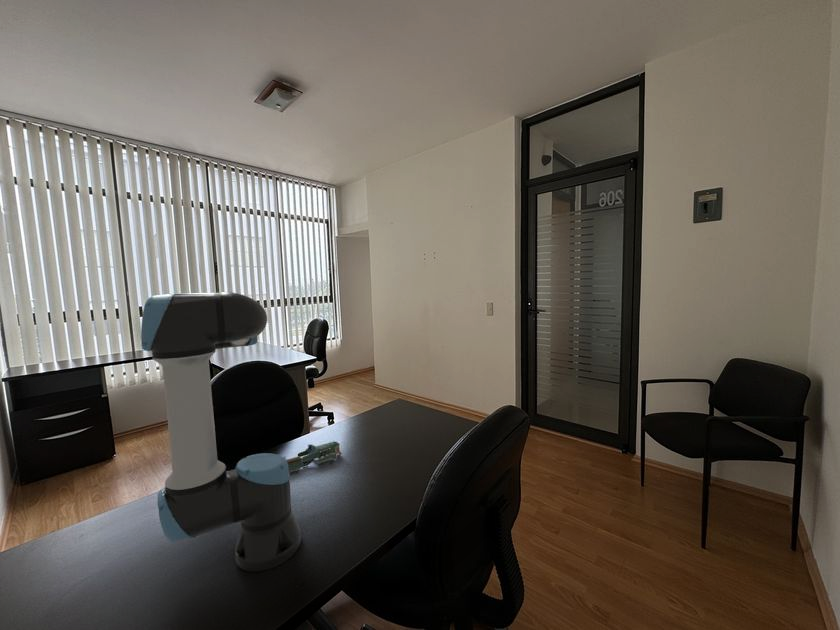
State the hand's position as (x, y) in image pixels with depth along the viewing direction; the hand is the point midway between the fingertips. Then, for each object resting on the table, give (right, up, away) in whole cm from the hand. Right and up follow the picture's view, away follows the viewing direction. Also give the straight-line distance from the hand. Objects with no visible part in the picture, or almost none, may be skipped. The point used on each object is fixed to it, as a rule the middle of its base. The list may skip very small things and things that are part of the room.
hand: (201, 429), depth 122 cm
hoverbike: (+35, -16, +6) cm, 39 cm away
